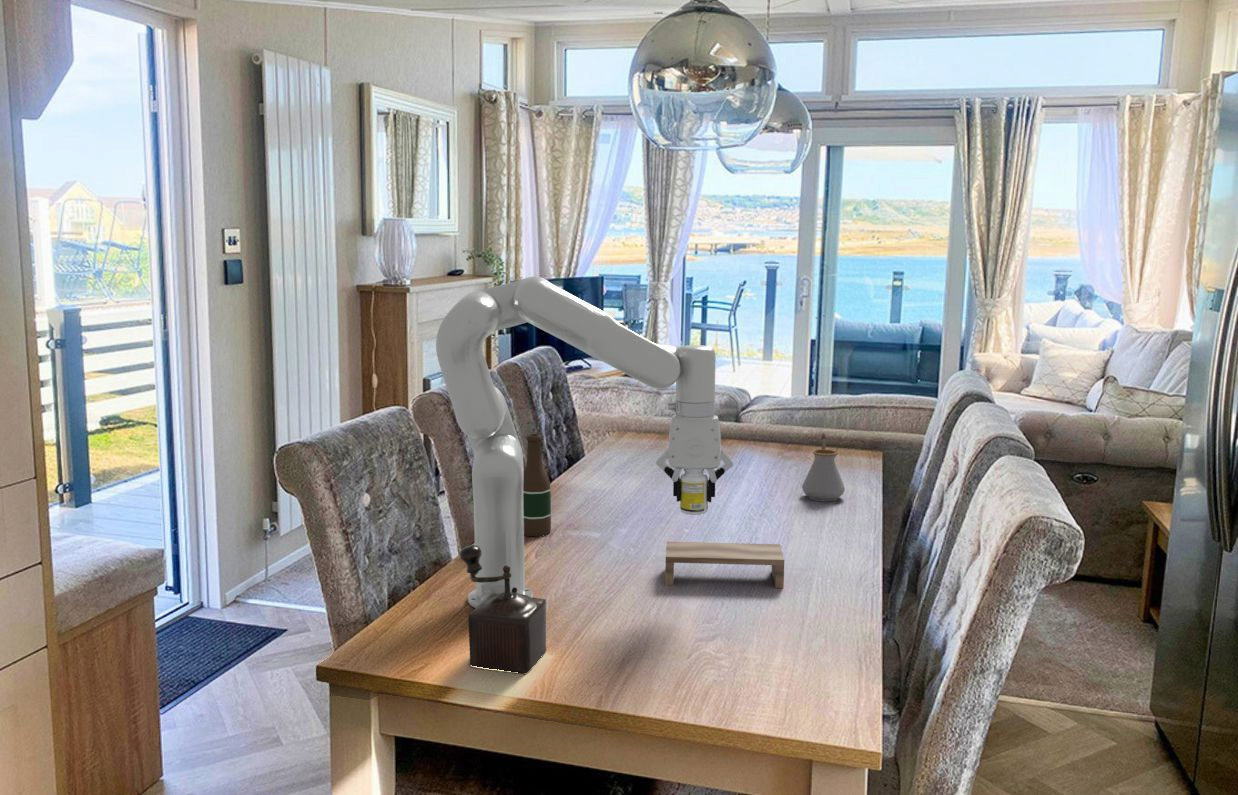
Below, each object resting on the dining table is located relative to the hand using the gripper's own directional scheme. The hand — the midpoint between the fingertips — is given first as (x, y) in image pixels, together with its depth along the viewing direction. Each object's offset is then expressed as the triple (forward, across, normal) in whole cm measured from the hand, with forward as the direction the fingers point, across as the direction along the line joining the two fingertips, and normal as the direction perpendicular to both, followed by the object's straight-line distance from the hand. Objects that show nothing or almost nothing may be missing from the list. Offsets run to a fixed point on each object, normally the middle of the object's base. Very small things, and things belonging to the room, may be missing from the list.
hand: (694, 499), depth 191 cm
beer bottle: (+20, -38, +37) cm, 57 cm away
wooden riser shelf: (+20, +6, +10) cm, 23 cm away
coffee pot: (+20, +35, +80) cm, 90 cm away
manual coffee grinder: (+20, -33, -32) cm, 50 cm away
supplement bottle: (+3, 0, 0) cm, 3 cm away
